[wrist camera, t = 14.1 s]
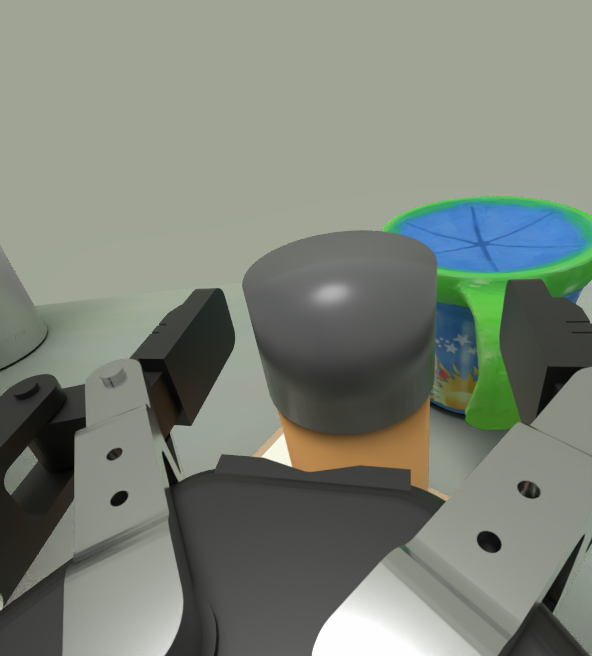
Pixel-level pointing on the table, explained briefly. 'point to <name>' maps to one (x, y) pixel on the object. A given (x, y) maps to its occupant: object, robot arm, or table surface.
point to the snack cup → (491, 287)
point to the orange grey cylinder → (349, 348)
